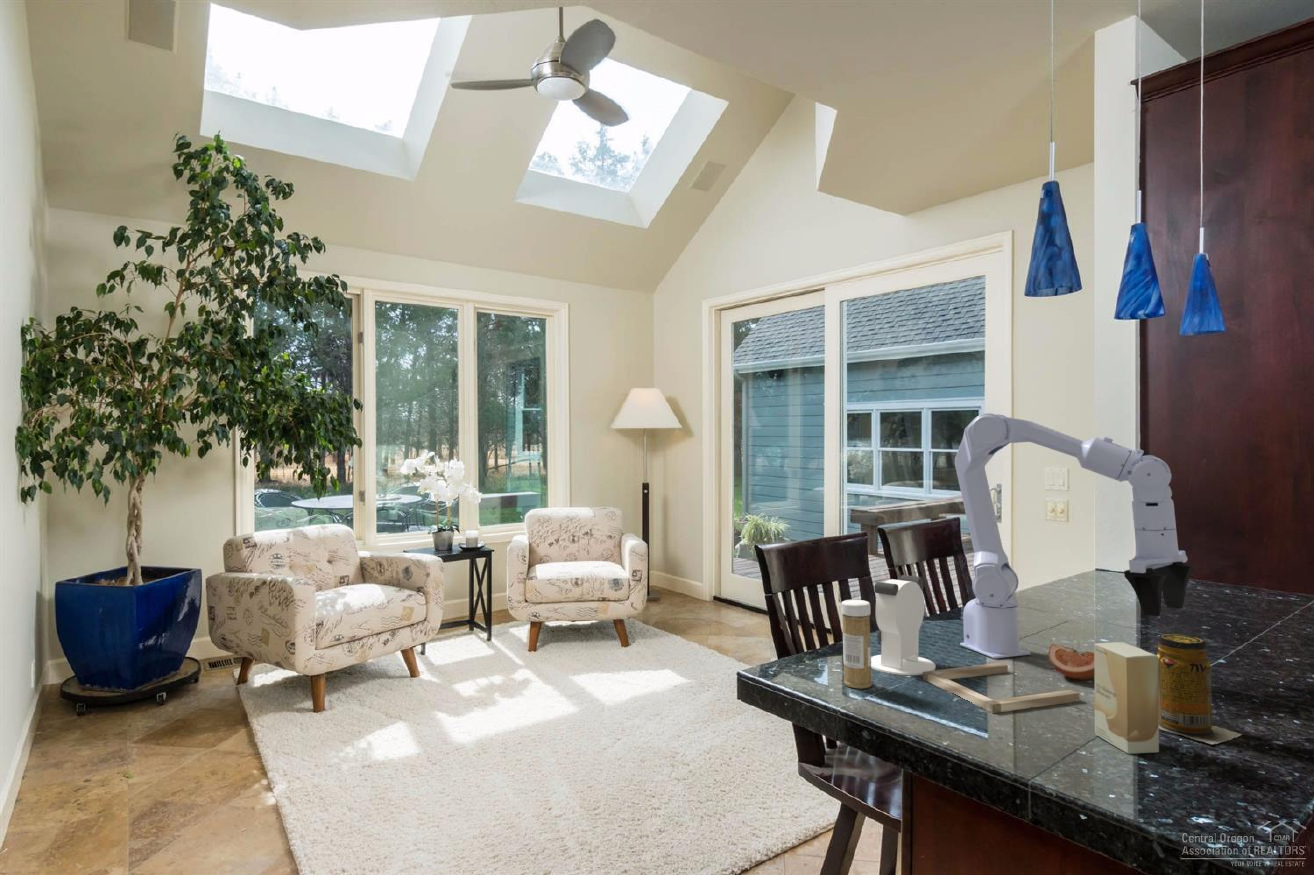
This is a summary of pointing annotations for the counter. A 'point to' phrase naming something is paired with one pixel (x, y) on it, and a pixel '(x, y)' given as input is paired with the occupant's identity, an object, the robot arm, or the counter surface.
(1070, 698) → the frame
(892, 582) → the white two-tone upright fixture
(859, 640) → the brown spice jar
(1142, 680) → the skincare box
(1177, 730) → the condiment
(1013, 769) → the counter surface
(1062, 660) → the fruit slice
